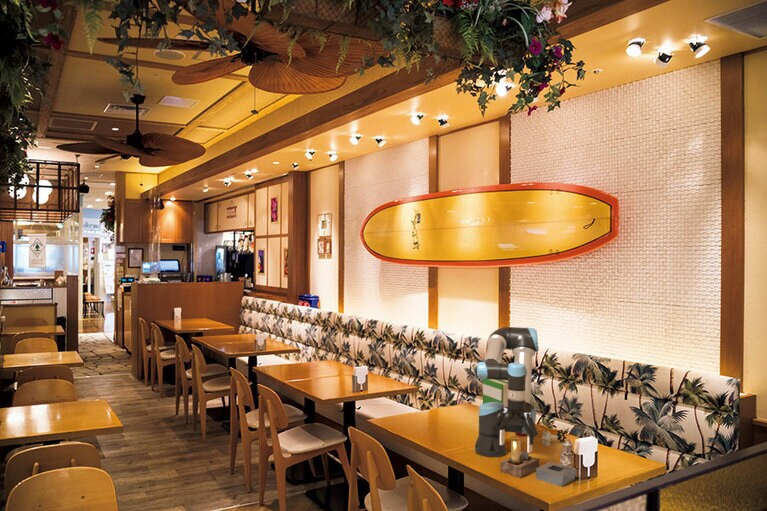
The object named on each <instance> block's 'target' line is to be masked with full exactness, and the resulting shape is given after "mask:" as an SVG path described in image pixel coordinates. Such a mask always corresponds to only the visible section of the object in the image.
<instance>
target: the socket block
mask: <svg viewBox="0 0 767 511" xmlns="http://www.w3.org/2000/svg"><path fill="white" fill-rule="evenodd" d="M575 476H577V467H576V468H572V467H568V466H565V465H561V464H559V463H557V462H553V461H548V462H546V463H544V464H542V465H539V467H538V468H536V471H535V479H536V480H538V481H542V482H545V483H549V484H551V485H554V486H555V485H556V486H559V487H565V486H567V485H568V484H570V483H571V482H573V481H575V480H576V479H575Z"/></svg>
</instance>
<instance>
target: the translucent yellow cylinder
mask: <svg viewBox="0 0 767 511" xmlns="http://www.w3.org/2000/svg"><path fill="white" fill-rule="evenodd" d="M521 441H522V440H520V439H516V438H514V439H511V440H510V457H511V464H514V465H517V466H518V465H520V454H521V443H522V442H521Z"/></svg>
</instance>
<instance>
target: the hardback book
mask: <svg viewBox="0 0 767 511" xmlns="http://www.w3.org/2000/svg"><path fill="white" fill-rule="evenodd" d="M508 399H509V398H508V381H507V380H494V379H482V404H484V403H489V402H501V403H503V404H504V407H508Z"/></svg>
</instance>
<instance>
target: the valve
mask: <svg viewBox="0 0 767 511" xmlns="http://www.w3.org/2000/svg"><path fill="white" fill-rule="evenodd" d="M565 435H566V432H563V429H557V433H556V434H555V435H554V434H551V431H549V430H543V431H542V436H541V440H542V445H543V446H545V447H547V446H548V447H549V446H551V442H552V441H555V440H557V441H559V443H561V444H562V443H564V442H565V441H566V440H567V437H566V436H565Z"/></svg>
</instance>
